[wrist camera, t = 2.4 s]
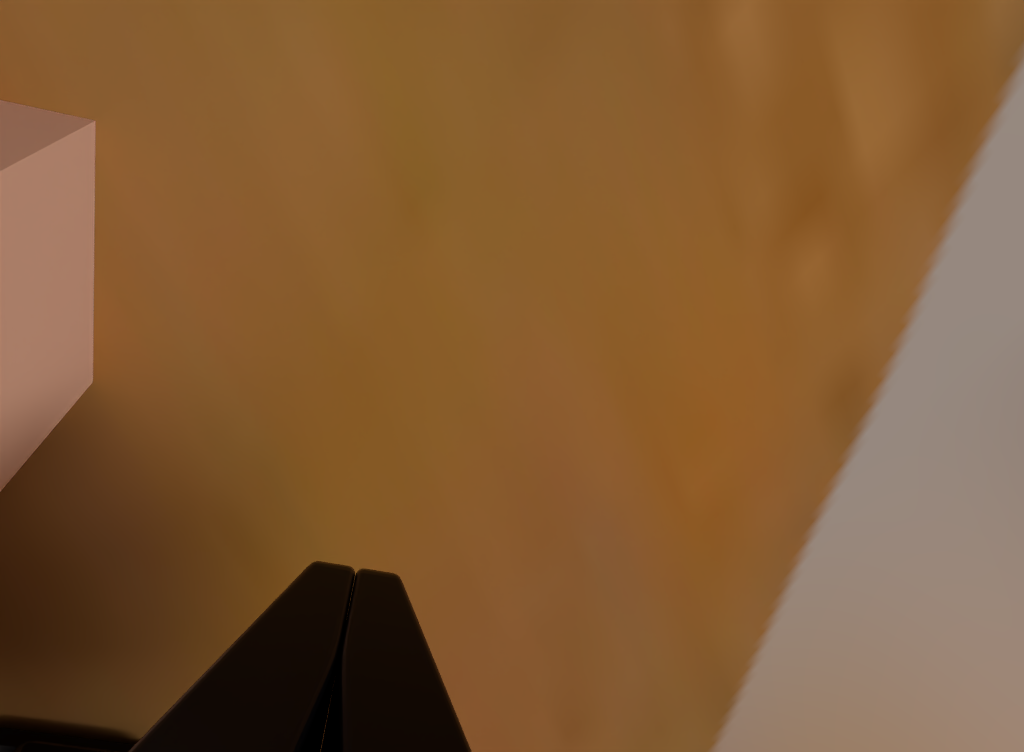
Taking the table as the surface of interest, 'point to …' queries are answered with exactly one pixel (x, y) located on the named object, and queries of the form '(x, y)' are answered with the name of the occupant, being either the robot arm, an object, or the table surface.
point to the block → (43, 274)
